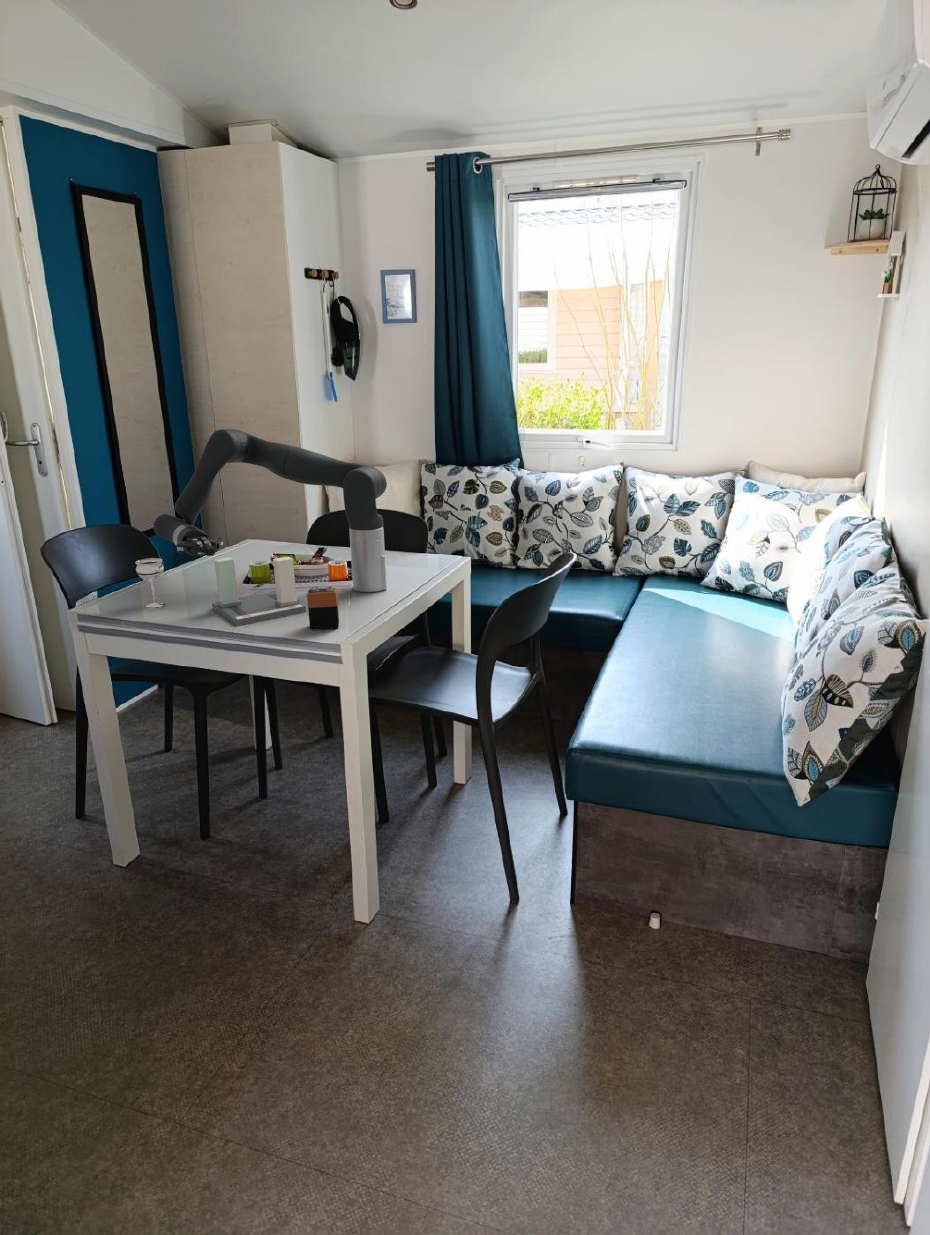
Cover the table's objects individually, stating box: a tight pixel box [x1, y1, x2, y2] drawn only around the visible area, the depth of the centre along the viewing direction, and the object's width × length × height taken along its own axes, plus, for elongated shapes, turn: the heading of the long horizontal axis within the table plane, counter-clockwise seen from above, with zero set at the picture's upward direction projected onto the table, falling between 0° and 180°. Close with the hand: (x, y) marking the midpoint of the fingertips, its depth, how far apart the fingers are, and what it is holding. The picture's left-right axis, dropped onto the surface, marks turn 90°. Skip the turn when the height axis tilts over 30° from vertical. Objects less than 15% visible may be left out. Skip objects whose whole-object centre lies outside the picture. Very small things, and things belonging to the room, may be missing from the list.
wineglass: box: [135, 557, 165, 608], centre depth 214 cm, size 7×7×12 cm
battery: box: [306, 585, 340, 630], centre depth 195 cm, size 4×7×10 cm, turn 97°
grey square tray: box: [211, 590, 307, 627], centre depth 210 cm, size 18×18×2 cm
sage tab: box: [213, 556, 241, 608], centre depth 208 cm, size 4×5×12 cm
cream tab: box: [272, 556, 300, 607], centre depth 207 cm, size 4×5×12 cm
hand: (211, 552), depth 213 cm, fingers closed
